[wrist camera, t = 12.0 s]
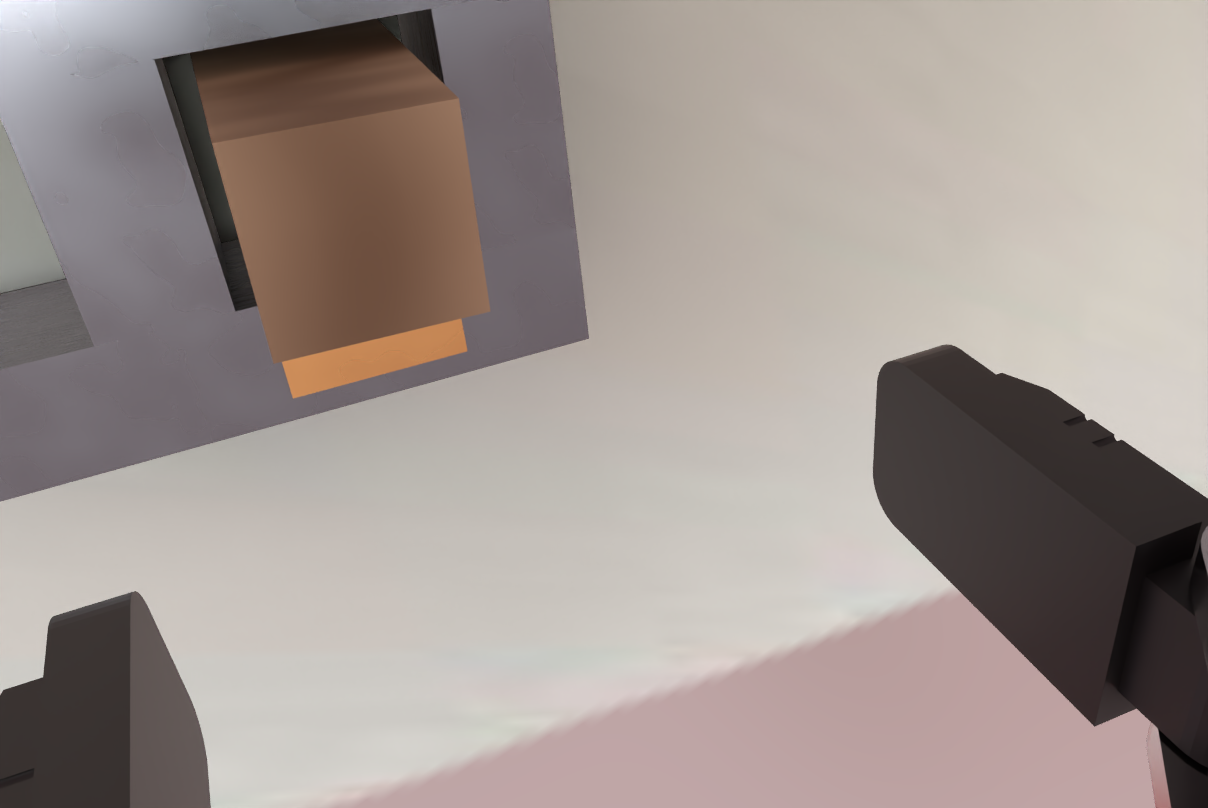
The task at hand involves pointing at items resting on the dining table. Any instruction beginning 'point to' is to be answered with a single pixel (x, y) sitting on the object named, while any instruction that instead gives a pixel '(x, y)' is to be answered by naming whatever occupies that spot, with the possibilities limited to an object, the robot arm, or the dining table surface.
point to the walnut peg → (343, 186)
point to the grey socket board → (218, 270)
